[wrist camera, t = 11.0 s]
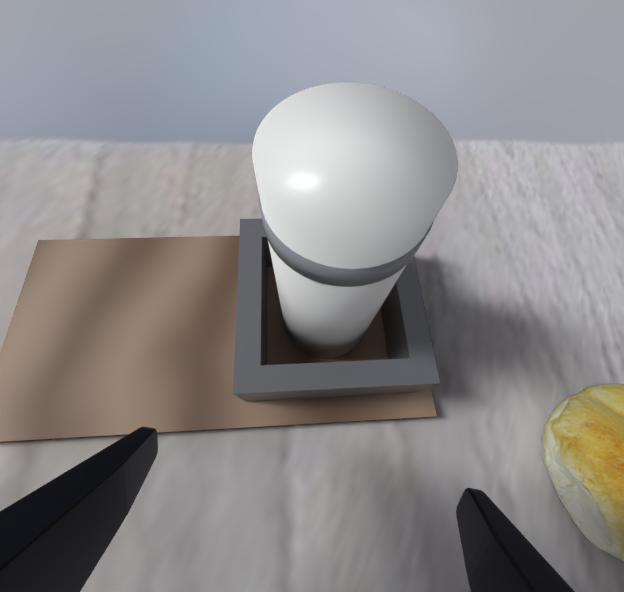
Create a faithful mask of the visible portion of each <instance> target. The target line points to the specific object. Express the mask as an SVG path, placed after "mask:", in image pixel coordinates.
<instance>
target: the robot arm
mask: <svg viewBox="0 0 624 592" xmlns="http://www.w3.org/2000/svg"><path fill="white" fill-rule="evenodd" d="M157 451H158V441H157V430H156V429H155V428H150V427H140V428H138V429H137V430H135V431H133V432H132V433H130V434H128V435H127V436H125V437H123V438H122V439H120V440H118V441H117V442H115V443H113V444H112V445H110V446H108V447H107V448H105V449H103V450H102V451H100V452H98V453H97V454H95V455H93V456H92V457H90V458H88V459H87V460H85V461H83V462H82V463H80V464H78V465H77V466H75V467H73V468H72V469H70V470H68V471H67V472H65V473H63V474H62V475H60V476H58V477H57V478H55V479H53V480H52V481H50V482H48V483H47V484H45V485H43V486H42V487H40V488H38V489H37V490H35V491H33V492H32V493H30V494H28V495H27V496H25V497H23V498H22V499H20V500H18V501H17V502H15V503H13V504H12V505H10V506H8V507H7V508H5V509H3V510H2V511H0V592H80V591H81V589H82V588H83V586H84V584H85V583H86V581H87V579H88V578H89V576H90V575H91V573H92V571H93V570H94V568H95V566H96V565H97V563H98V562H99V560H100V558H101V557H102V555H103V553H104V552H105V550H106V549H107V547H108V545H109V544H110V542H111V540H112V539H113V537H114V536H115V534H116V532H117V531H118V529H119V527H120V526H121V524H122V523H123V521H124V519H125V517H126V516H127V514H128V512H129V510H130V508H131V506H132V504H133V502H134V500H135V498H136V496H137V494H138V492H139V490H140V488H141V486H142V484H143V482H144V480H145V478H146V476H147V474H148V472H149V470H150V468H151V466H152V464H153V462H154V460H155V458H156V455H157ZM456 515H457V521H458V527H459V532H460V538H461V544H462V549H463V555H464V560H465V566H466V571H467V576H468V581H469V585H470V589H471V592H574V591H573V589H572V588H571V587H570V586H569V585H568V584H567V583H566V582H565V581H564V580H563V578H562V577H561V576H560V575H559V574H558V573H557V572H556V571H555V570H554V569H553V568H552V566H551V565H550V564H549V563H548V562H547V561H546V560H545V559H544V558H543V557H542V555H541V554H540V553H539V552H538V551H537V550H536V549H535V548H534V547H533V546H532V544H531V543H530V542H529V541H528V540H527V539H526V538H525V537H524V536H523V535H522V534H521V532H520V531H519V530H518V529H517V528H516V527H515V526H514V525H513V524H512V523H511V521H510V520H509V519H508V518H507V517H506V516H505V515H504V514H503V513H502V512H501V511H500V509H499V508H498V507H497V506H496V505H495V504H494V503H493V502H492V501H491V500H490V498H489V497H488V496H487V495H486V494H485V493H484V492H483V491H481V490H478V489H472V488H467V489H465V491H464V493H463V495H462V497H461V499H460V501H459V504H458V506H457V510H456Z"/></svg>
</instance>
